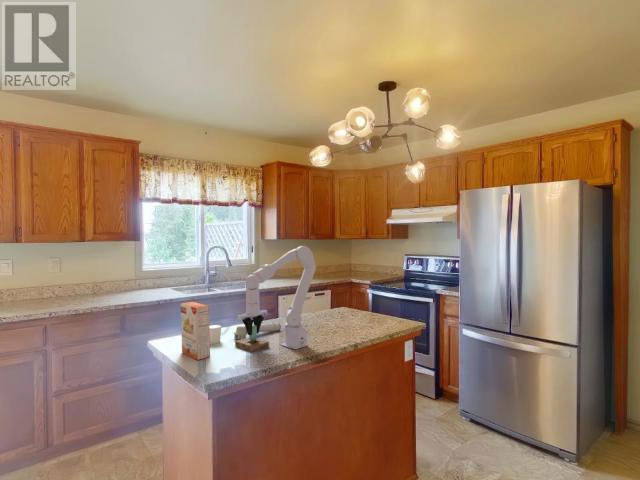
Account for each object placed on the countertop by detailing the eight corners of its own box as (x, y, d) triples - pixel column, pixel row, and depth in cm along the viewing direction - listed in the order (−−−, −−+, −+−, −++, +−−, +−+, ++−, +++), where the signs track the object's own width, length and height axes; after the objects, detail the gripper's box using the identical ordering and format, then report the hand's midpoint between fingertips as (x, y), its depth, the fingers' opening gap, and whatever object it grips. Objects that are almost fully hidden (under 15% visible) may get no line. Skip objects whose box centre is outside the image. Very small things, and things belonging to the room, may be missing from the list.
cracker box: (180, 353, 153) (180, 303, 153) (194, 349, 158) (193, 301, 157) (196, 361, 144) (195, 307, 143) (210, 357, 148) (209, 305, 147)
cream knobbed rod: (281, 323, 187) (238, 325, 170) (280, 336, 186) (236, 340, 170) (275, 321, 191) (232, 323, 174) (274, 334, 190) (231, 337, 174)
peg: (258, 339, 160) (258, 325, 160) (252, 341, 158) (252, 327, 158) (253, 338, 162) (253, 324, 162) (247, 339, 160) (247, 325, 160)
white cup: (223, 339, 173) (222, 324, 173) (219, 343, 166) (219, 328, 166) (208, 339, 173) (208, 324, 173) (204, 343, 166) (204, 328, 166)
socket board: (268, 347, 160) (268, 341, 160) (252, 352, 153) (251, 346, 153) (252, 341, 168) (251, 336, 168) (235, 346, 162) (235, 341, 162)
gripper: (260, 299, 168) (260, 329, 168) (233, 304, 157) (233, 335, 157) (270, 301, 163) (270, 331, 163) (243, 306, 152) (243, 338, 153)
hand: (253, 333), depth 160 cm, fingers closed on peg, 3 cm apart
